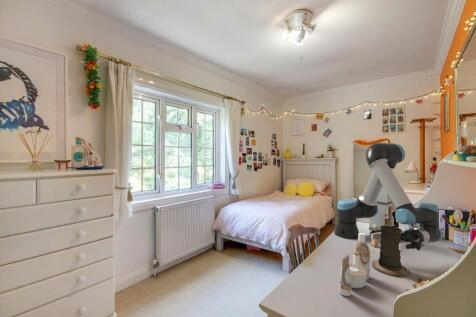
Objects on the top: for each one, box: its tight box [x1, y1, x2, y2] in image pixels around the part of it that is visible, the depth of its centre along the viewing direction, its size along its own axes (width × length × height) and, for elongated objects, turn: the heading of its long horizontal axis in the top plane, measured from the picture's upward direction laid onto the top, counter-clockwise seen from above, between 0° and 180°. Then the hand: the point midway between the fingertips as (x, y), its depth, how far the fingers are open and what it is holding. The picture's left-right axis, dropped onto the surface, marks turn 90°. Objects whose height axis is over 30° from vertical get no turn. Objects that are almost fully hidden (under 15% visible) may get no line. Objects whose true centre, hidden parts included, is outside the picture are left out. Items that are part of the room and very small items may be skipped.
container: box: [378, 225, 403, 271], centre depth 109 cm, size 9×9×18 cm
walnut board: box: [371, 259, 409, 278], centre depth 109 cm, size 14×14×1 cm
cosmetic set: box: [338, 232, 371, 297], centre depth 95 cm, size 25×9×19 cm, turn 135°
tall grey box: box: [368, 187, 393, 232], centre depth 166 cm, size 11×11×35 cm
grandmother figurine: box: [368, 225, 380, 249], centre depth 136 cm, size 8×4×13 cm, turn 47°
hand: (384, 241), depth 108 cm, fingers open, 13 cm apart
